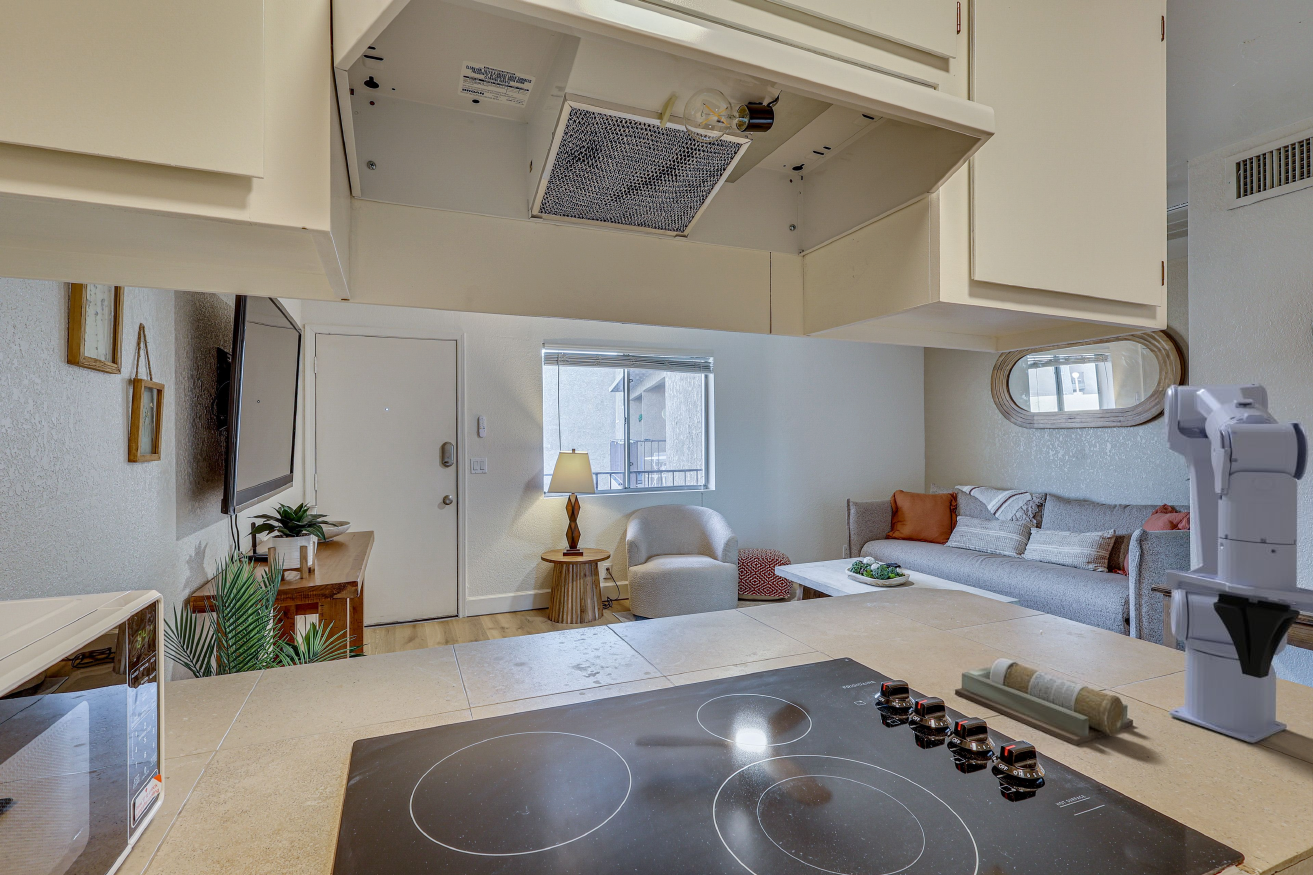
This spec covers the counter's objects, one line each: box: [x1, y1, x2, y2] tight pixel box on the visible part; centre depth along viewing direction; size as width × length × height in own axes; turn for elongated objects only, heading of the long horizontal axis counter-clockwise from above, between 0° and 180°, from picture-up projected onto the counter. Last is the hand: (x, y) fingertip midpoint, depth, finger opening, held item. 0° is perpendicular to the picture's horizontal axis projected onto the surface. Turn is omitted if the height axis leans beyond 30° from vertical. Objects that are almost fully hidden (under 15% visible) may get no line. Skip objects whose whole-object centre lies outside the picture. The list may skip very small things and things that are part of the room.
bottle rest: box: [954, 665, 1134, 746], centre depth 77 cm, size 12×15×3 cm
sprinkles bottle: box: [990, 657, 1124, 736], centre depth 74 cm, size 5×5×13 cm
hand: (1255, 674), depth 61 cm, fingers closed
